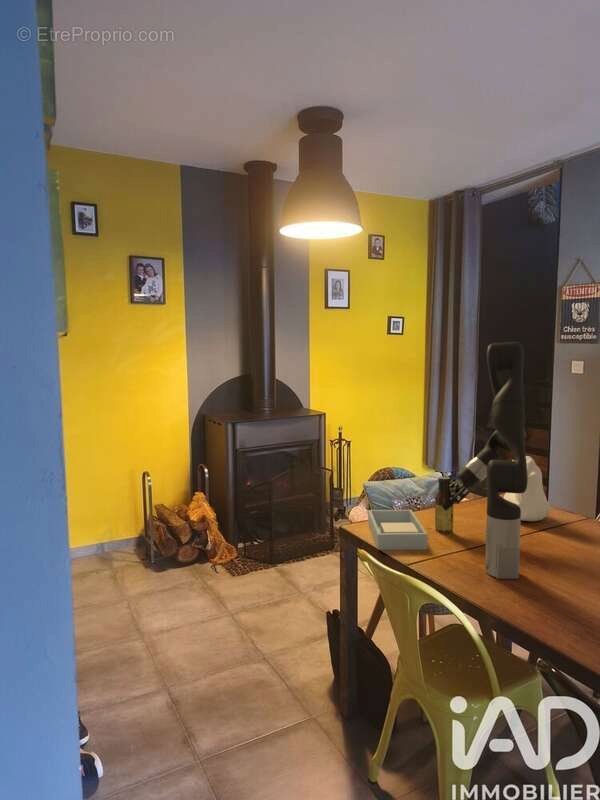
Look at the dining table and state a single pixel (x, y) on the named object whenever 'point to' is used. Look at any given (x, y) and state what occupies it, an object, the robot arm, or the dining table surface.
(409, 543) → the tote
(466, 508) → the dining table surface
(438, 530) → the sauce bottle
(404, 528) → the tan rectangular block
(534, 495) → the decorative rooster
